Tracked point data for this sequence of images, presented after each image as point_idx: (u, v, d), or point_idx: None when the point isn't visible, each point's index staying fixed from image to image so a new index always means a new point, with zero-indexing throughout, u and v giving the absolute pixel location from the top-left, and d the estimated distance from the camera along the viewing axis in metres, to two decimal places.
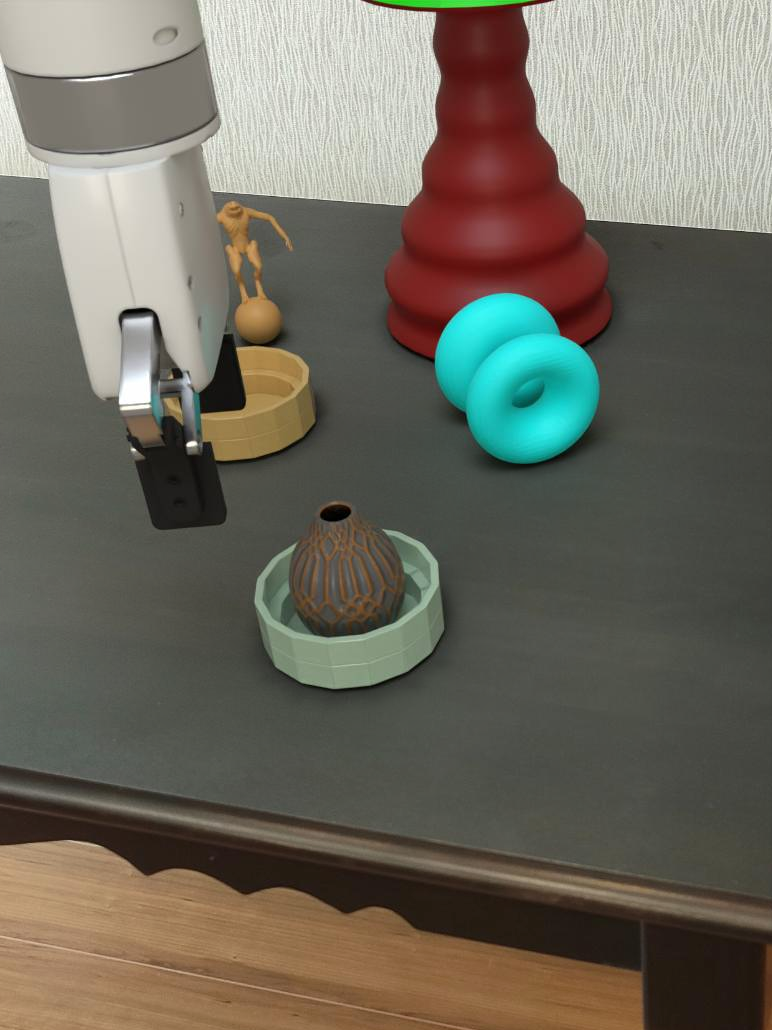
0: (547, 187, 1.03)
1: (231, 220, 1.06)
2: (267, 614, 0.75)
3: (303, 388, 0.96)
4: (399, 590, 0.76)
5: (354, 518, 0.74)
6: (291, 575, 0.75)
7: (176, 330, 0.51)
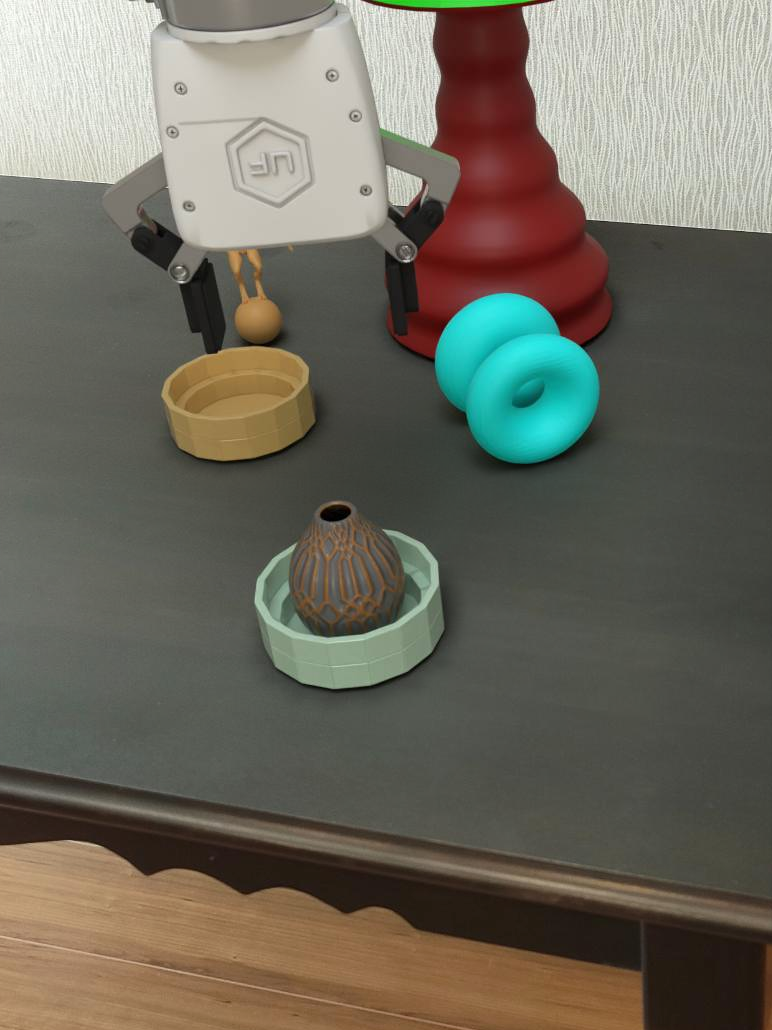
0: (547, 187, 1.03)
1: None
2: (267, 614, 0.75)
3: (303, 388, 0.96)
4: (399, 590, 0.76)
5: (354, 518, 0.74)
6: (291, 575, 0.75)
7: None
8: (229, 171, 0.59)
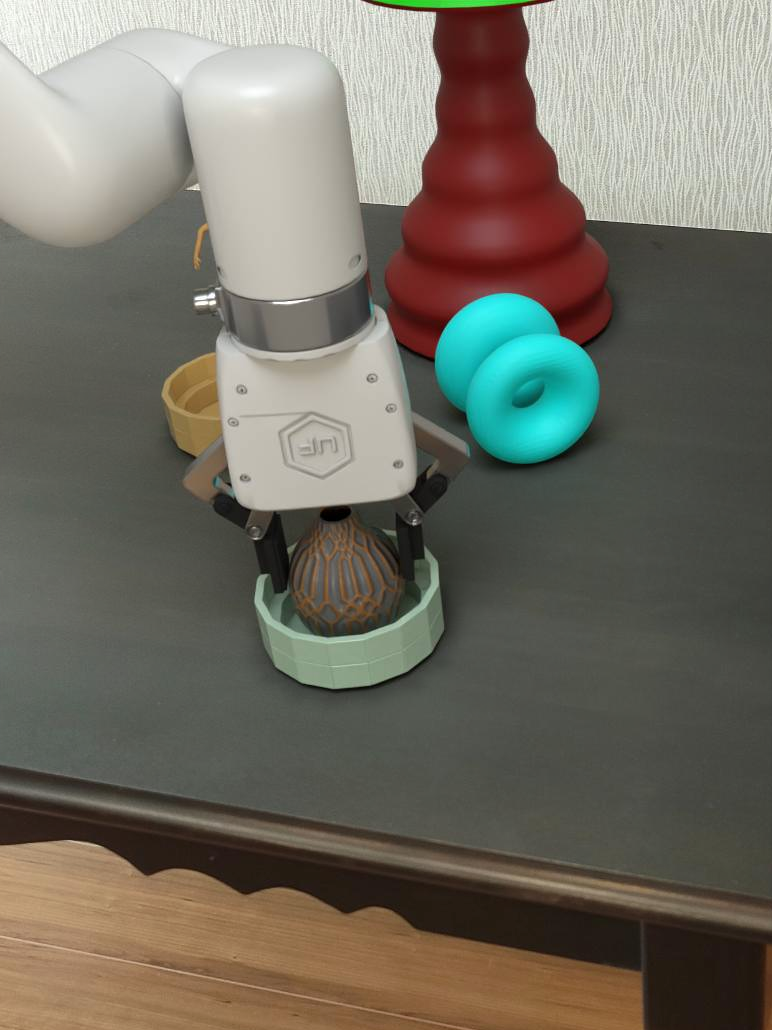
0: (547, 187, 1.03)
1: None
2: (267, 614, 0.75)
3: None
4: (399, 590, 0.76)
5: (354, 518, 0.74)
6: (291, 575, 0.75)
7: None
8: (281, 452, 0.68)
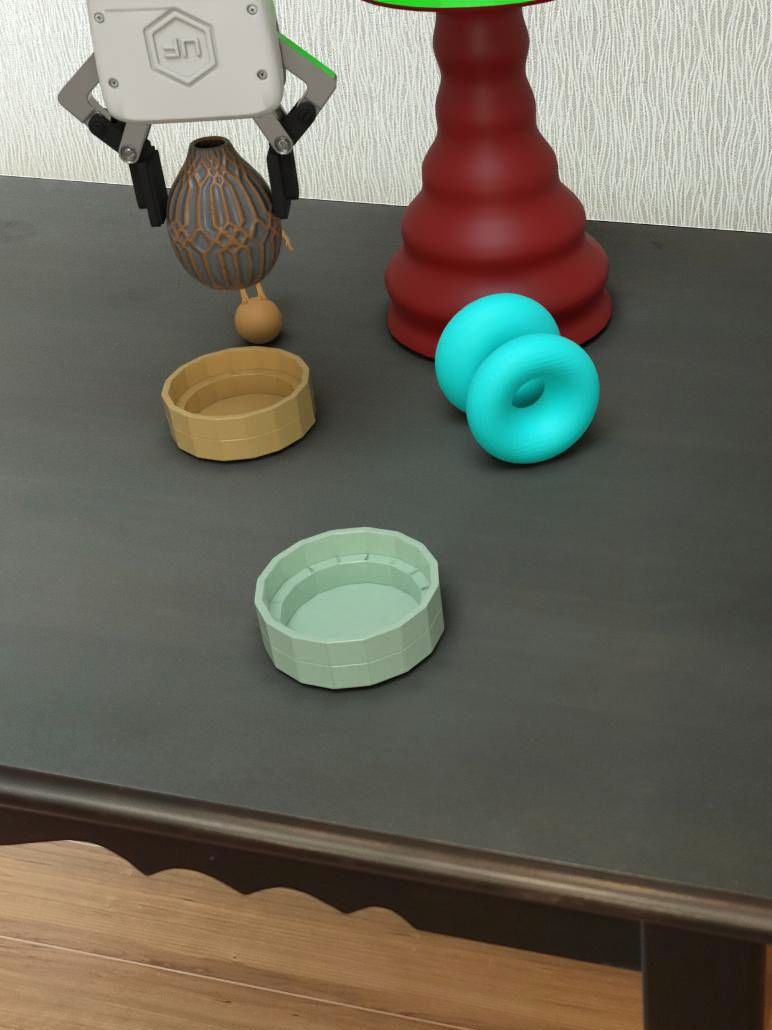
0: (547, 187, 1.03)
1: None
2: (267, 614, 0.75)
3: (303, 388, 0.96)
4: (273, 229, 0.79)
5: (227, 148, 0.76)
6: (167, 208, 0.78)
7: None
8: (146, 53, 0.71)
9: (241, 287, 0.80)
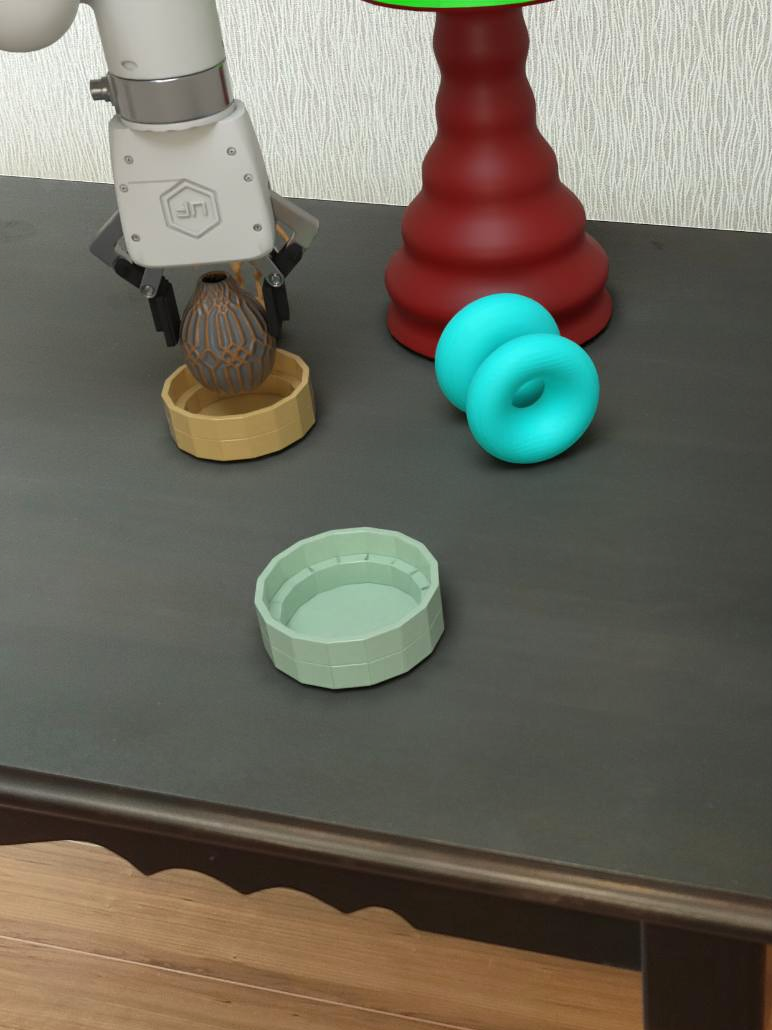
0: (547, 187, 1.03)
1: None
2: (267, 614, 0.75)
3: (303, 388, 0.96)
4: (268, 345, 0.95)
5: (229, 282, 0.92)
6: (180, 331, 0.94)
7: None
8: (163, 214, 0.86)
9: (243, 393, 0.96)
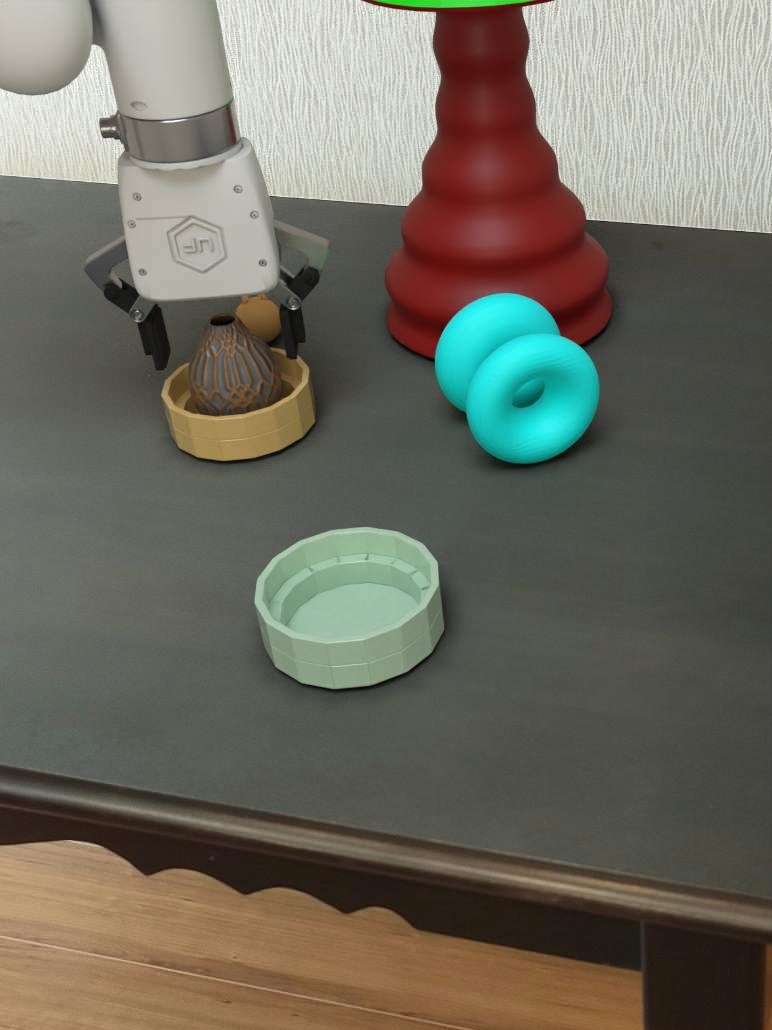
0: (547, 187, 1.03)
1: None
2: (267, 614, 0.75)
3: (303, 388, 0.96)
4: (275, 386, 0.97)
5: (237, 324, 0.94)
6: (189, 372, 0.96)
7: None
8: (170, 250, 0.88)
9: None
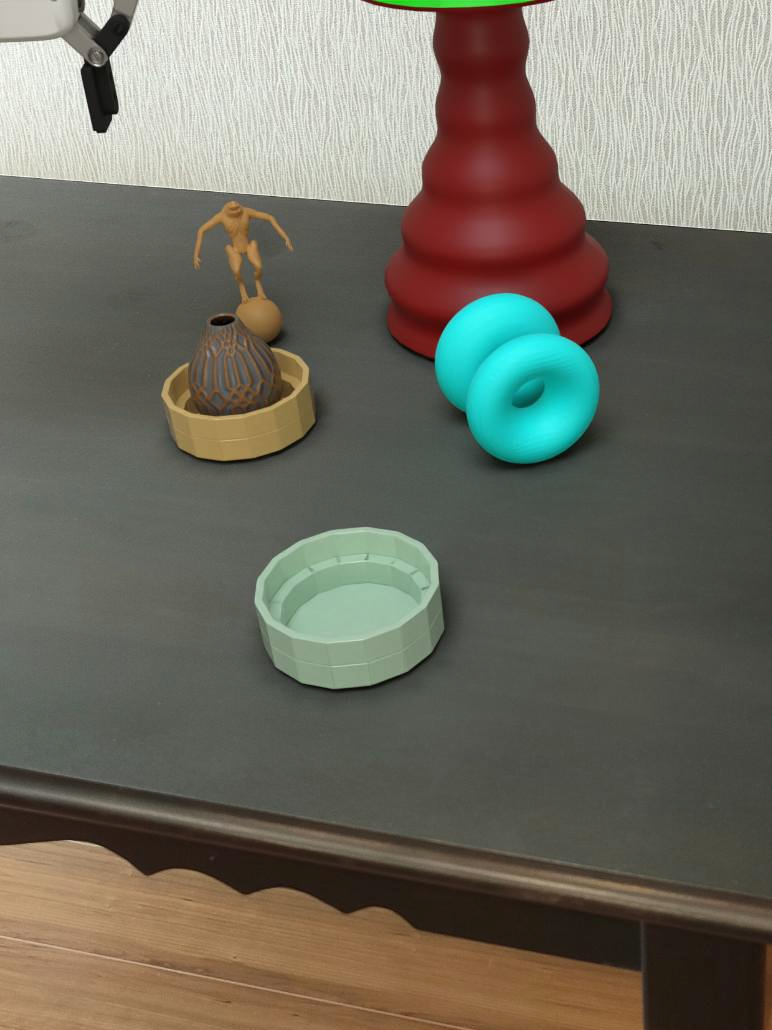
0: (547, 187, 1.03)
1: (231, 220, 1.06)
2: (267, 614, 0.75)
3: (303, 388, 0.96)
4: (275, 386, 0.97)
5: (237, 324, 0.94)
6: (189, 372, 0.96)
7: None
8: None
9: None
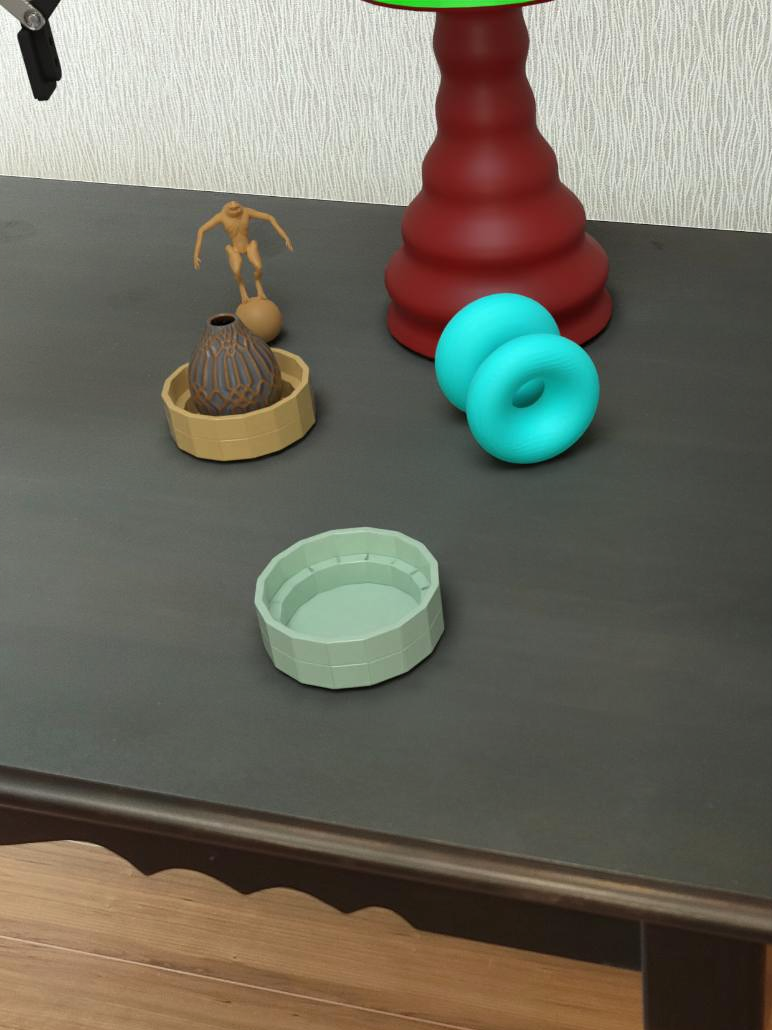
0: (547, 187, 1.03)
1: (231, 220, 1.06)
2: (267, 614, 0.75)
3: (303, 388, 0.96)
4: (275, 386, 0.97)
5: (237, 324, 0.94)
6: (189, 372, 0.96)
7: None
8: None
9: None
